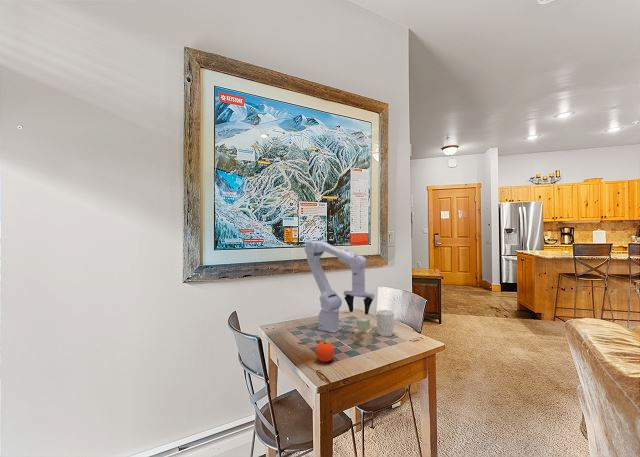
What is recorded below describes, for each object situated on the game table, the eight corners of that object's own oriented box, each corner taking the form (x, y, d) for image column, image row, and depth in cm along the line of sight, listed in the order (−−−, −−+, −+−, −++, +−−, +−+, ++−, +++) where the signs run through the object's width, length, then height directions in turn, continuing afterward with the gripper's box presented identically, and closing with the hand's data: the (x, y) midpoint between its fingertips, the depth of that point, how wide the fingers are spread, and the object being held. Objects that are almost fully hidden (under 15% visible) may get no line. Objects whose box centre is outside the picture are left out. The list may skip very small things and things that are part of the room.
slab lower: (353, 343, 124) (353, 336, 124) (360, 339, 129) (360, 332, 129) (366, 347, 121) (366, 339, 121) (372, 342, 125) (372, 335, 125)
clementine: (325, 354, 113) (325, 335, 113) (340, 359, 109) (339, 340, 109) (311, 361, 107) (311, 342, 107) (326, 367, 103) (326, 346, 103)
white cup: (394, 337, 130) (394, 315, 130) (376, 336, 132) (376, 314, 132) (393, 331, 138) (393, 310, 138) (376, 330, 140) (376, 309, 140)
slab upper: (354, 337, 123) (354, 330, 123) (358, 333, 129) (358, 326, 129) (368, 339, 121) (368, 332, 121) (372, 334, 126) (372, 327, 126)
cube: (356, 329, 125) (356, 319, 125) (361, 326, 128) (361, 317, 128) (365, 331, 122) (365, 321, 122) (369, 328, 125) (369, 319, 125)
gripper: (340, 282, 133) (340, 312, 133) (369, 285, 125) (370, 317, 125) (347, 280, 139) (347, 309, 139) (376, 283, 131) (376, 313, 131)
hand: (358, 312), depth 132 cm, fingers open, 7 cm apart
